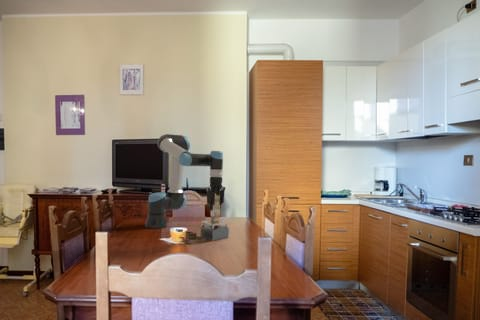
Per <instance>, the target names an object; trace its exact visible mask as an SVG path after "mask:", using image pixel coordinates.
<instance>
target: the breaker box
mask: <svg viewBox="0 0 480 320" xmlns="http://www.w3.org/2000/svg"><path fill="white" fill-rule="evenodd" d="M200 223H201V226H200V236H199V237H202V238H205V239H206V240H209V241H212V242H214V241H218V240H225V239H229V236H230V235H229V232H230V230H229V227H228V225H229V223H230V222H228V221H224V220H220V219H219V222H218V223H212V222H211V219H209V220H202V221H200ZM215 225H218V227H214V226H215Z"/></svg>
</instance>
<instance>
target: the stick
mask: <svg viewBox="0 0 480 320" xmlns="http://www.w3.org/2000/svg"><path fill="white" fill-rule="evenodd" d="M219 202H220V196H218V195H216V194H215V198H214V204H213V205H214V216H211V215H210V220H211V223H212V222H213V223H219V220H220V216H219Z"/></svg>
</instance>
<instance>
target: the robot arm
mask: <svg viewBox="0 0 480 320" xmlns="http://www.w3.org/2000/svg"><path fill="white" fill-rule="evenodd" d="M157 147H158V149H159V150H160V151H162V152H163V153H168V154H170V156H171V163H170V164H171V165H170V181H169V189H168V190H167V193H166V192H165V191H162V192H161V191H160V192H159V191H158V192H154V193H153V192H152V193H150V194H149V195H148V201H147V202H148V204H147V205H148V207H147V208H148V211H147V218H146V221H145V222H144V225H145V226H144V227H145V228H147V229H165V228H167V227H168V226H169V225H168V219H167V216H166V212H167V211H178V210H182V209H184V207H186V204H187V196H186V194H185V193H184V190H183V174H184V167H209V176H210V177H209V186H208V187H205V191H206V204H208V205H209V211H210V217H211V216H214V205H213V204H214V198H215V195H218V196H220V202H219V217H220V214H221V210H222V209H221V207H222V206H221V205H223V203H224V202H225V191H226V186H223V185H222V183H223V167H224V166H223V165H224V163H223V162H224V154H223V153H224V152H223V151H222V150H210V154H209V153H191V152H189V151H190V148H191V141H190V140H189V137H188V136H187V135H182V134H169V133H167V134H166V133H165V134H162V135H161V136H160V137H159V138H158V140H157Z"/></svg>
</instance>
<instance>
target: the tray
mask: <svg viewBox="0 0 480 320" xmlns="http://www.w3.org/2000/svg"><path fill="white" fill-rule="evenodd" d="M182 242H185V243H187V244H190V245H196V244H202V243H203V244H204V243H206V242H207V239H206V238H203V237H200V236H199V235H196V236H191V237H185V238H182Z"/></svg>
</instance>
